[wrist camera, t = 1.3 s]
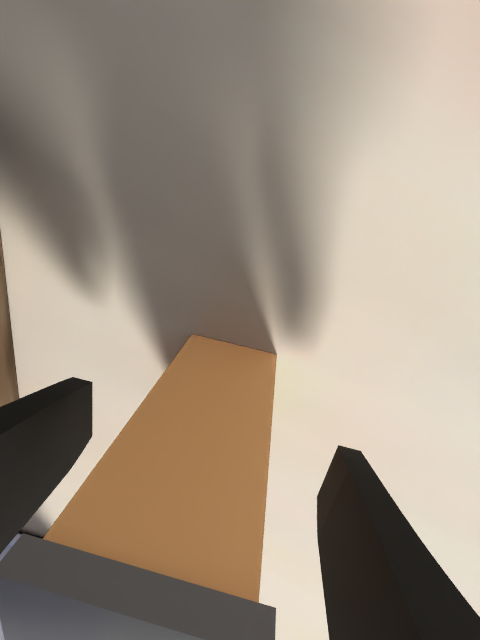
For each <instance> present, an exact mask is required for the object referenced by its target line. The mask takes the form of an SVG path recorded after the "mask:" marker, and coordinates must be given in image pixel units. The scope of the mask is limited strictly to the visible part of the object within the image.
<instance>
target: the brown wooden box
mask: <svg viewBox="0 0 480 640" xmlns="http://www.w3.org/2000/svg"><path fill="white" fill-rule="evenodd" d="M18 399H19V396H18V387H17V378H16V369H15V361H14V352H13V343H12V334H11V325H10V316H9V307H8V298H7V289H6V280H5V271H4V262H3V253H2V244H1V235H0V407H1V406H3V405H6V404H8V403H11V402H13V401H15V400H18Z"/></svg>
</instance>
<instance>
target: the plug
mask: <svg viewBox="0 0 480 640" xmlns="http://www.w3.org/2000/svg"><path fill="white" fill-rule="evenodd" d="M276 358H277V354H272V353H268V352H264V351H260V350H256V349H252V348H247V347H243V346H239V345H235V344H231V343H227V342H222V341H218V340H214V339H210V338H206V337H202V336H198V335H193V334H192V335H191V336H190V338H189V339H188V340H187V342H186V343H185V344H184V346H183V347H182V349H181V350H180V351H179V353H178V354H177V355H176V357H175V358H174V359H173V361H172V362H171V364H170V365H169V366H168V368H167V369H166V370H165V372H164V373H163V375H162V376H161V377H160V379H159V380H158V381H157V383H156V384H155V385H154V387H153V388H152V390H151V391H150V392H149V394H148V395H147V396H146V398H145V399H144V401H143V402H142V403H141V405H140V406H139V407H138V409H137V410H136V411H135V413H134V414H133V416H132V417H131V418H130V420H129V421H128V422H127V424H126V425H125V427H124V428H123V429H122V431H121V432H120V433H119V435H118V436H117V437H116V439H115V440H114V442H113V443H112V444H111V446H110V447H109V448H108V450H107V451H106V453H105V454H104V455H103V457H102V458H101V459H100V461H99V462H98V463H97V465H96V466H95V468H94V469H93V470H92V472H91V473H90V474H89V476H88V477H87V479H86V480H85V481H84V483H83V484H82V485H81V487H80V488H79V489H78V491H77V492H76V494H75V495H74V496H73V498H72V499H71V500H70V502H69V503H68V505H67V506H66V507H65V509H64V510H63V511H62V513H61V514H60V515H59V517H58V518H57V520H56V521H55V522H54V524H53V525H52V526H51V528H50V529H49V531H48V532H47V533H46V535H45V536H44V537H43V539H41V538H38V537H34V536H31V535H28V534H24V533H23V534H22V535H21V536H20V537H19V539H18V540H17V541H16V542H15V544H14V545H13V546H12V547H11V549H10V550H9V551H8V552H7V554H6V555H5V556H4V557H3V559H2V560H1V561H0V621H1V626H2V630H3V635H4V640H275V621H276V608H274V607H271V606H267V605H264V604H261V603H259V590H260V576H261V563H262V549H263V535H264V522H265V508H266V494H267V481H268V467H269V453H270V440H271V426H272V413H273V399H274V385H275V372H276Z"/></svg>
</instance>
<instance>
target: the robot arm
mask: <svg viewBox="0 0 480 640" xmlns="http://www.w3.org/2000/svg"><path fill="white" fill-rule="evenodd" d="M91 437H92V382H90V381H86V380H82V379H78V378H74V377H72V378H69V379H66V380H64V381H61V382H58V383H56V384H54V385H51V386H49V387H46V388H44V389H41V390H39V391H37V392H34V393H32V394H30V395H27V396H25V397H23V398H20V399H18V400H15V401H13V402H11V403H8V404H6V405H3V406H1V407H0V561H1V560H2V559H3V557H4V556H5V555H6V554H7V552H8V551H9V550H10V549H11V547H12V546H13V545H14V544H15V542H16V541H17V540H18V539H19V537H20V536H21V535H22V534H19V533H18V532H19V531H20V530H21V529H22V528H23V526H24V525H25V524H26V523H27V522H28V520H29V519H30V518H31V517H32V516H33V514H34V513H35V512H36V511H37V510H38V508H39V507H40V506H41V505H42V504H43V502H44V501H45V500H46V499H47V497H48V496H49V495H50V494H51V493H52V491H53V490H54V489H55V488H56V487H57V485H58V484H59V483H60V482H61V480H62V479H63V478H64V477H65V475H66V474H67V473H68V472H69V470H70V469H71V468H72V466H73V465H74V463H75V462H76V460H77V459H78V457H79V456H80V454H81V453H82V451H83V450H84V448H85V447H86V445H87V443H88V442H89V440H90V439H91ZM317 534H318V546H319V555H320V564H321V573H322V581H323V590H324V598H325V606H326V615H327V623H328V632H329V640H480V617H479V616H478V615H477V613H476V612H475V611H474V610H473V608H472V607H471V606H470V605H469V603H468V602H467V601H466V600H465V598H464V597H463V596H462V594H461V593H460V592H459V590H458V589H457V588H456V587H455V585H454V584H453V583H452V581H451V580H450V579H449V577H448V576H447V575H446V573H445V572H444V571H443V569H442V568H441V567H440V565H439V564H438V563H437V561H436V560H435V559H434V557H433V556H432V555H431V553H430V552H429V550H428V549H427V548H426V546H425V545H424V544H423V542H422V541H421V539H420V538H419V537H418V535H417V534H416V532H415V531H414V530H413V528H412V527H411V525H410V524H409V522H408V521H407V519H406V518H405V517H404V515H403V514H402V512H401V511H400V509H399V508H398V506H397V505H396V503H395V502H394V500H393V499H392V497H391V496H390V494H389V493H388V491H387V490H386V488H385V487H384V485H383V484H382V482H381V481H380V479H379V478H378V476H377V475H376V473H375V472H374V470H373V469H372V467H371V466H370V464H369V463H368V461H367V460H366V458H365V457H364V455H363V454H362V452H361V451H358V450H354V449H351V448H347V447H343V446H339V445H338V448H337V450H336V452H335V455H334V457H333V460H332V462H331V464H330V467H329V469H328V472H327V474H326V476H325V479H324V481H323V484H322V486H321V488H320V491H319V493H318V496H317ZM0 640H4V635H3V630H2V626H1V621H0Z"/></svg>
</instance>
